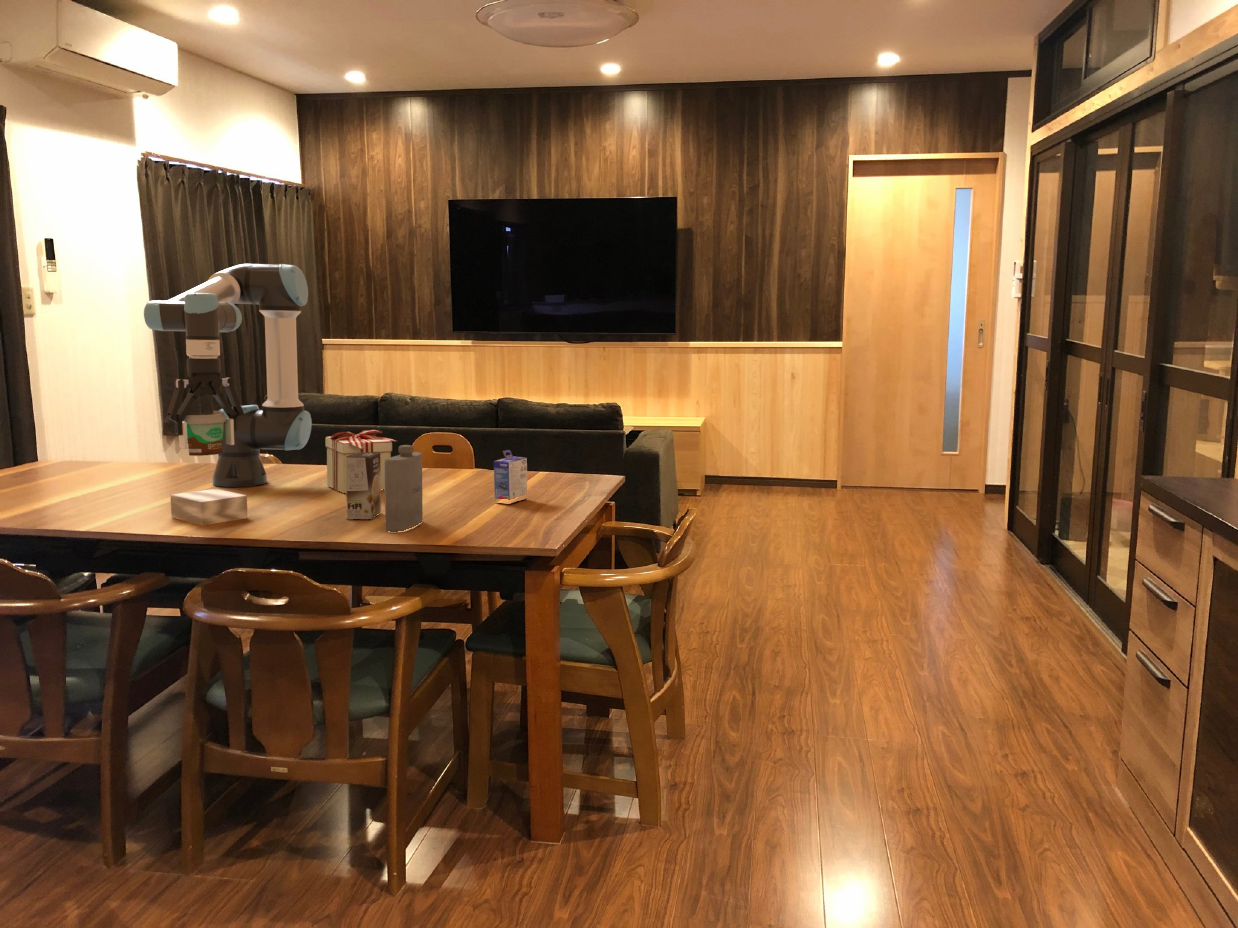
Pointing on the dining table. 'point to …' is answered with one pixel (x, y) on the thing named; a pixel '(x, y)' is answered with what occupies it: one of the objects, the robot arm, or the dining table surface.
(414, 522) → the flask
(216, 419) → the food container
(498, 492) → the ink cartridge box
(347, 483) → the coffee box
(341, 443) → the gift box
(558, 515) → the dining table surface
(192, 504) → the birch block
